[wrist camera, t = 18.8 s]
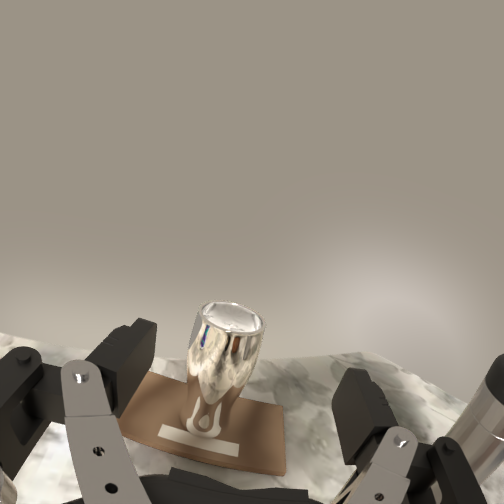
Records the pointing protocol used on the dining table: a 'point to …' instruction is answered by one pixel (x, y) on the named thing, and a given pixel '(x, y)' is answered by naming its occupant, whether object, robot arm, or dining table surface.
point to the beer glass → (219, 364)
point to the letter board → (198, 448)
